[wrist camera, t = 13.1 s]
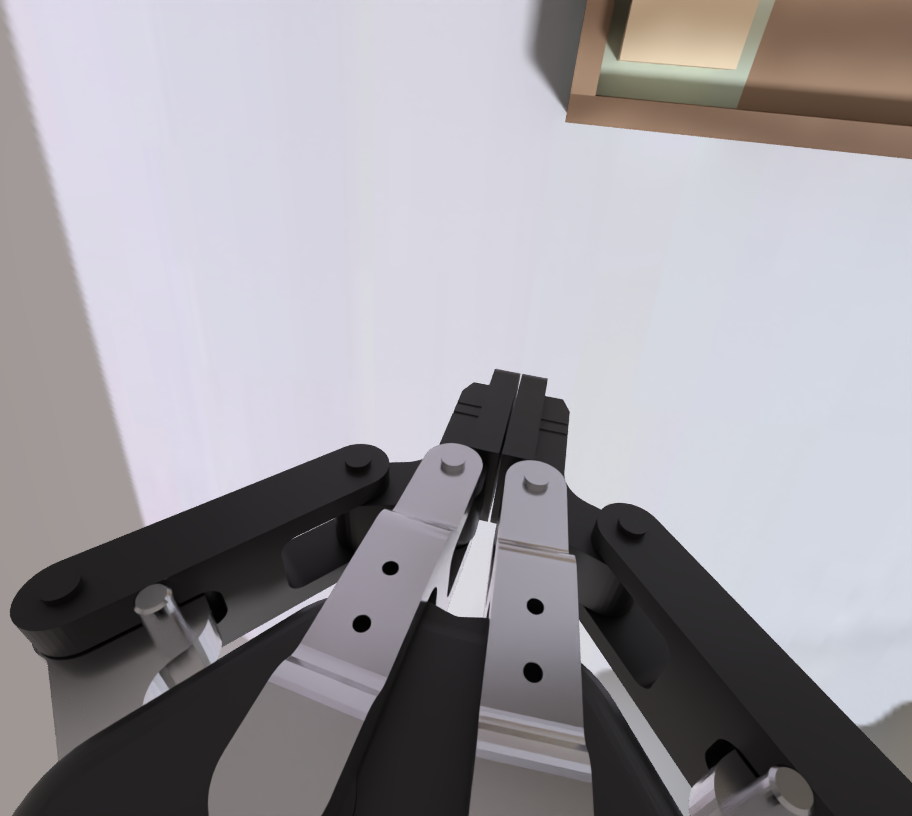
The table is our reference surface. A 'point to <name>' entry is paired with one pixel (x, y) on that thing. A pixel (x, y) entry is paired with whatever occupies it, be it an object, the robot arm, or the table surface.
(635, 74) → the box
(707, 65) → the beech block
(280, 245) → the table surface
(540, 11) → the table surface
